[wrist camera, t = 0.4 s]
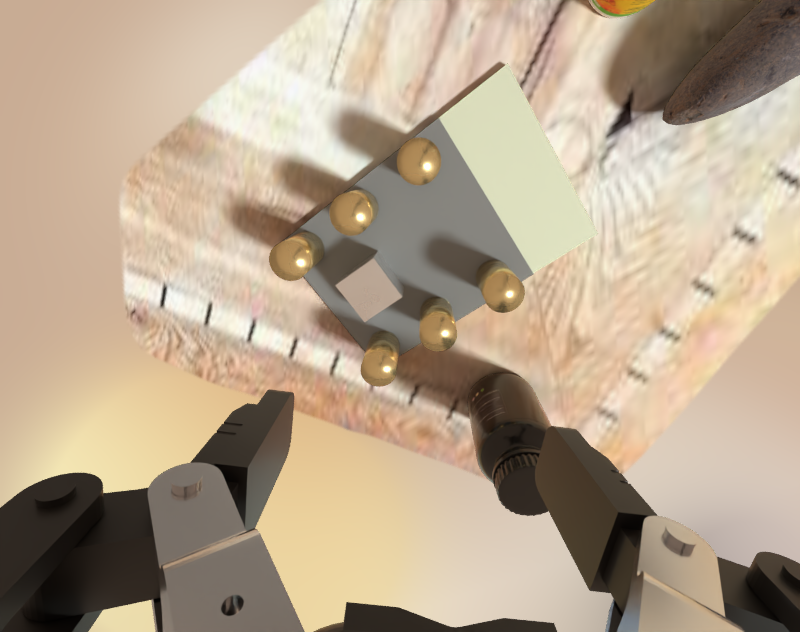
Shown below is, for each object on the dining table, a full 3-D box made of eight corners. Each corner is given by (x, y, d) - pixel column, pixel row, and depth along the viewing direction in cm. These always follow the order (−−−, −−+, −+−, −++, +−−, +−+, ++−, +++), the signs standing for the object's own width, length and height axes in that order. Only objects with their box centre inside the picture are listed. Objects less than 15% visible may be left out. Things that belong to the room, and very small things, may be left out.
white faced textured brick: (377, 250, 33) (373, 258, 30) (404, 286, 34) (402, 297, 31) (342, 275, 34) (335, 285, 31) (369, 309, 35) (364, 322, 32)
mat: (506, 65, 28) (507, 63, 27) (595, 232, 32) (598, 234, 31) (280, 243, 33) (277, 244, 33) (379, 365, 37) (378, 368, 37)
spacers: (424, 134, 29) (424, 127, 24) (516, 280, 33) (531, 298, 28) (284, 244, 33) (261, 256, 28) (381, 363, 37) (374, 392, 32)
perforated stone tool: (659, 152, 29) (726, 147, 23) (627, 92, 28) (689, 69, 21) (875, -2, 25) (1032, -62, 19) (849, -81, 24) (1009, -175, 17)
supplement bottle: (548, 392, 38) (601, 487, 26) (504, 436, 40) (535, 540, 29) (495, 357, 36) (526, 440, 25) (452, 404, 39) (464, 499, 28)
